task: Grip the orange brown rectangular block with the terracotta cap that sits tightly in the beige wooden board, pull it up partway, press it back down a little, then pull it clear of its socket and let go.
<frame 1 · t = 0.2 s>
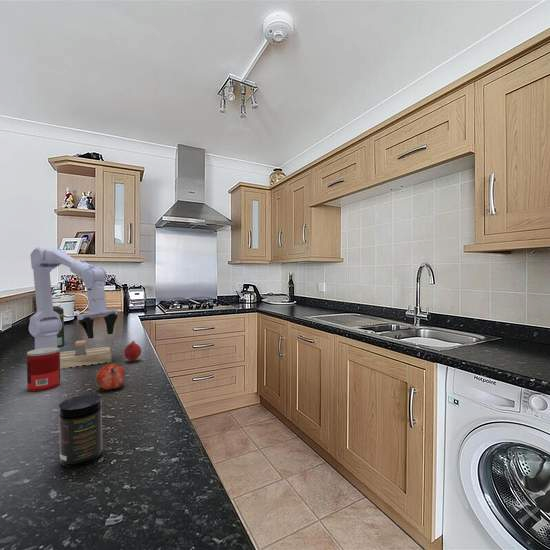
hand: (100, 336, 116), 10 cm above the countertop, tool pointing down, fingers open, 7 cm apart
beige wooden board: (80, 361, 119), on the countertop
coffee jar: (54, 346, 145), on the countertop
supplement container: (81, 458, 57), on the countertop
canned food: (44, 387, 93), on the countertop
onion: (132, 362, 118), on the countertop
pomegranate: (111, 388, 92), on the countertop
orange brown rectangular block: (80, 351, 119), point 4 cm above the countertop, slide at 0.0 cm
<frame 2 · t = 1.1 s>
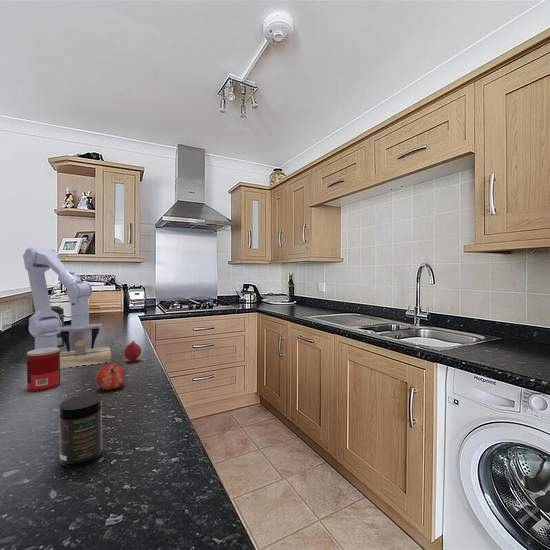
hand: (80, 349, 119), 5 cm above the countertop, tool pointing down, fingers open, 7 cm apart
nothing on the countertop moved.
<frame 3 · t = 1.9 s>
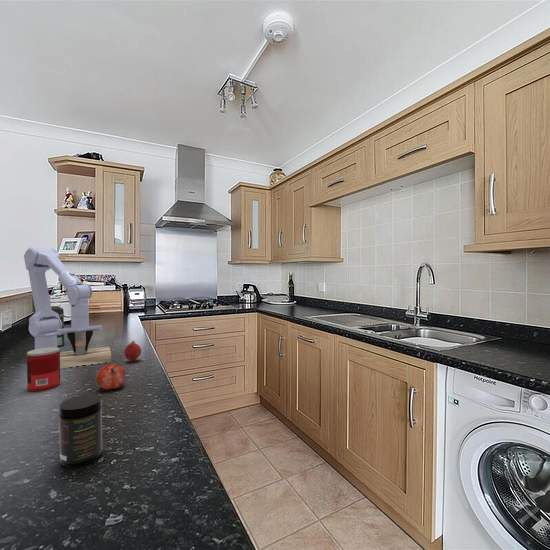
hand: (80, 351, 119), 4 cm above the countertop, tool pointing down, fingers closed on orange brown rectangular block, 3 cm apart
orange brown rectangular block: (80, 351, 119), point 4 cm above the countertop, slide at 0.0 cm, touching gripper
everything else where it was.
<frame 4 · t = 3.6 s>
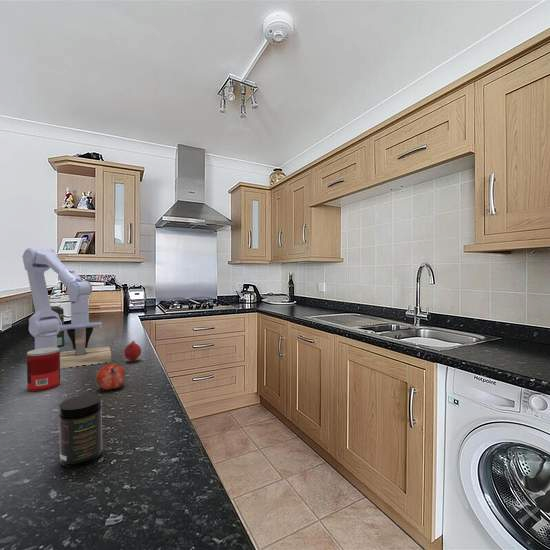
hand: (80, 348, 119), 5 cm above the countertop, tool pointing down, fingers closed on orange brown rectangular block, 3 cm apart
orange brown rectangular block: (80, 348, 119), point 5 cm above the countertop, slide at 1.0 cm, touching gripper
everything else where it was.
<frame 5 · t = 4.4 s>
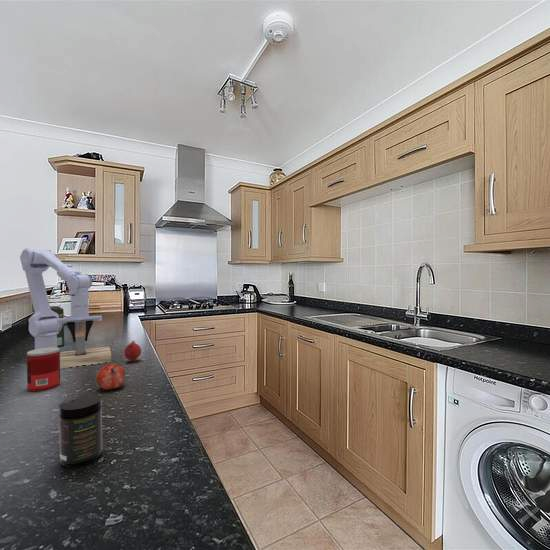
hand: (80, 341, 119), 8 cm above the countertop, tool pointing down, fingers closed on orange brown rectangular block, 3 cm apart
orange brown rectangular block: (80, 342, 119), point 7 cm above the countertop, slide at 3.4 cm, touching gripper
everything else where it was.
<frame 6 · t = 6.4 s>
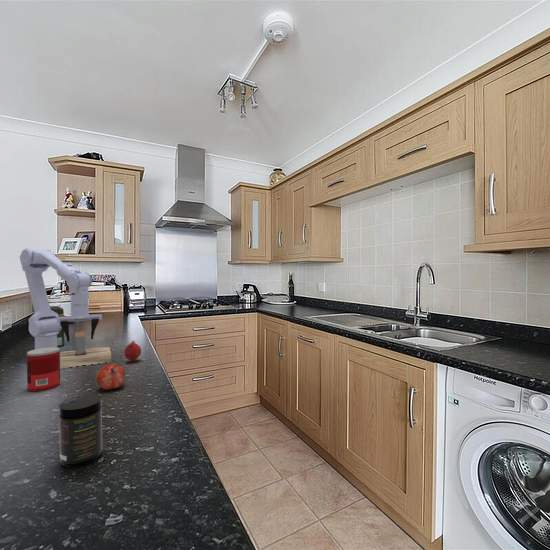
hand: (80, 339, 119), 8 cm above the countertop, tool pointing down, fingers open, 7 cm apart
orange brown rectangular block: (80, 342, 119), point 7 cm above the countertop, slide at 3.4 cm
everything else where it was.
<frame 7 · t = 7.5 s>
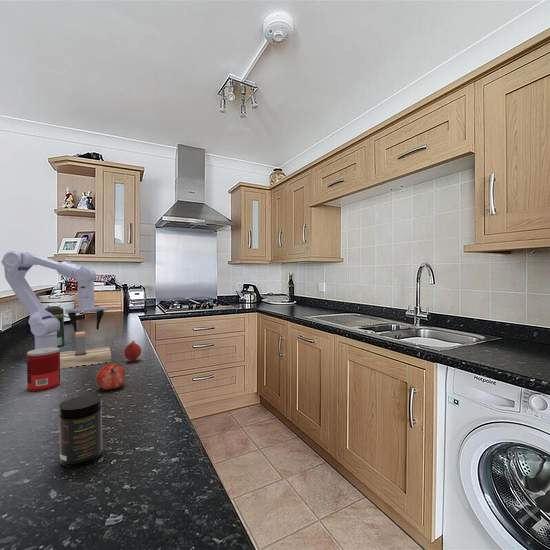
hand: (86, 330, 127), 10 cm above the countertop, tool pointing down, fingers open, 7 cm apart
nothing on the countertop moved.
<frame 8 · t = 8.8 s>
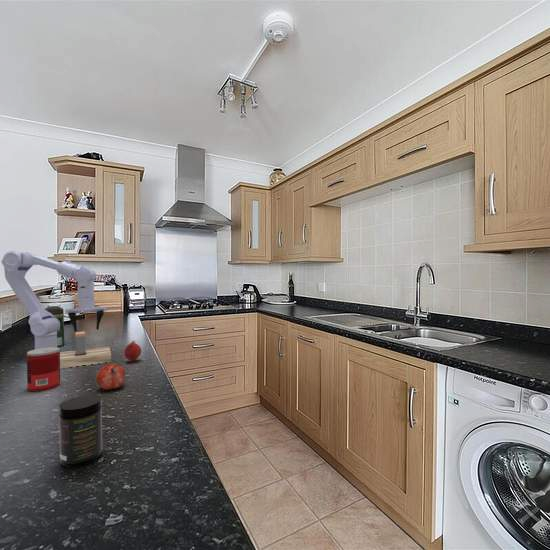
hand: (86, 330, 127), 10 cm above the countertop, tool pointing down, fingers open, 7 cm apart
nothing on the countertop moved.
at the end: orange brown rectangular block slide at 3.4 cm; the gripper is holding nothing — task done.
